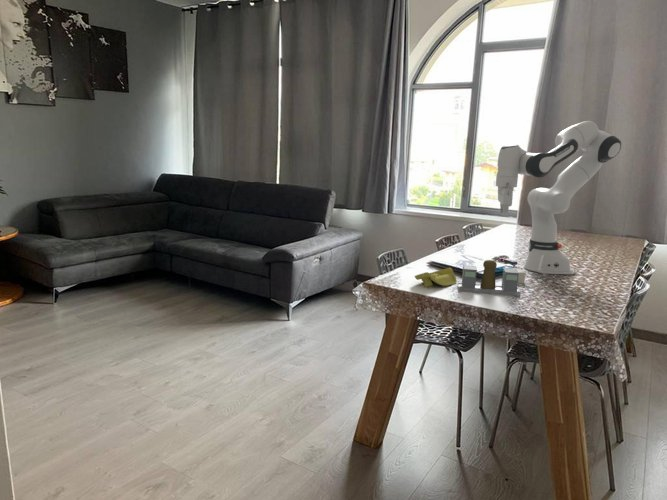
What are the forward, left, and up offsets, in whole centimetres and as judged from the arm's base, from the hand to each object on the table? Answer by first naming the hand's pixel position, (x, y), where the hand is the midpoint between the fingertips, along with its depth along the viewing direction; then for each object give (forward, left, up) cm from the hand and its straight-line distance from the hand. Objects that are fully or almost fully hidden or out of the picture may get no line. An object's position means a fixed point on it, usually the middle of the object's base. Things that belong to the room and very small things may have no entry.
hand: (503, 214), depth 217 cm
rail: (+6, +24, -29) cm, 38 cm away
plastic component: (+28, +19, -29) cm, 45 cm away
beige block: (-8, +5, -29) cm, 30 cm away
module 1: (+14, +24, -27) cm, 39 cm away
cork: (+6, +24, -27) cm, 37 cm away
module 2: (-2, +24, -27) cm, 37 cm away
